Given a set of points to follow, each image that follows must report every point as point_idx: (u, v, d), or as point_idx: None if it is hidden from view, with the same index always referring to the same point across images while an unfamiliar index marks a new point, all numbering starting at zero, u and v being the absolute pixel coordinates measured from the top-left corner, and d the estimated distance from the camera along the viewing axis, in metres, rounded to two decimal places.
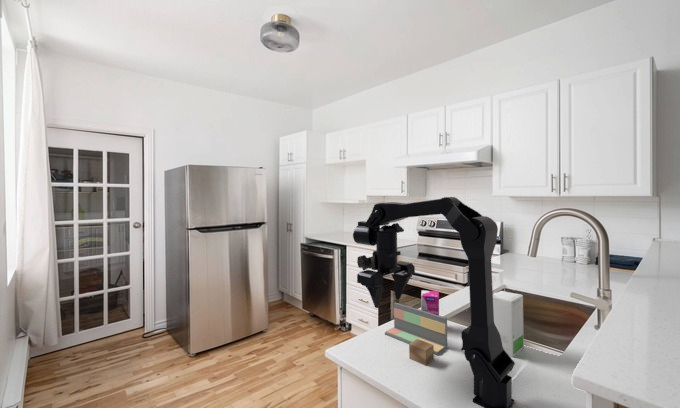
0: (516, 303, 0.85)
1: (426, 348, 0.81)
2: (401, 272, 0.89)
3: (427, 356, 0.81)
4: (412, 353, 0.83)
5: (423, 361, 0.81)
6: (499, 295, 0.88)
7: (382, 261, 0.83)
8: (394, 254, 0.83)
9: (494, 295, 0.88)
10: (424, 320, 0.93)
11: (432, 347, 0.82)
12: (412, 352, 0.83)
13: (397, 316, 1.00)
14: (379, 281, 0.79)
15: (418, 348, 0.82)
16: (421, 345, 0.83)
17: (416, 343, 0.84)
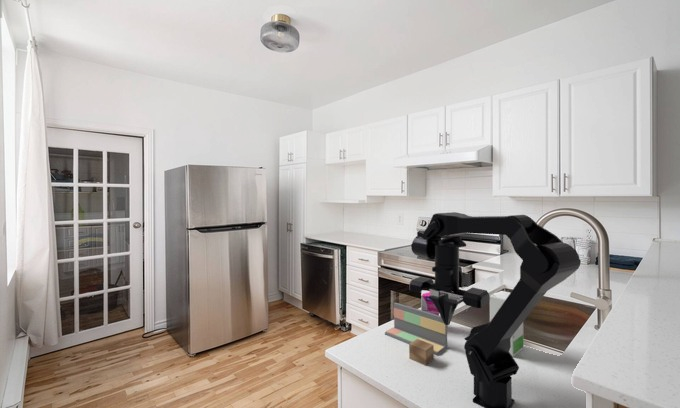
0: None
1: (426, 348, 0.81)
2: (448, 295, 0.76)
3: (427, 356, 0.81)
4: (412, 353, 0.83)
5: (423, 361, 0.81)
6: (499, 295, 0.88)
7: None
8: (439, 270, 0.75)
9: (494, 295, 0.88)
10: (424, 320, 0.93)
11: (432, 347, 0.82)
12: (412, 352, 0.83)
13: (397, 316, 1.00)
14: (416, 289, 0.80)
15: (418, 348, 0.82)
16: (421, 345, 0.83)
17: (416, 343, 0.84)
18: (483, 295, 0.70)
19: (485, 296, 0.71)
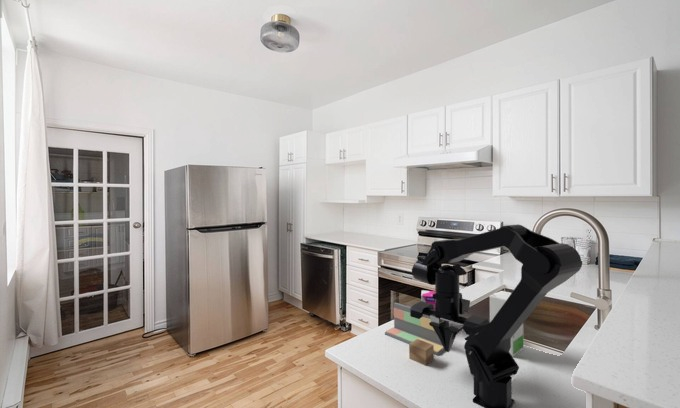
0: None
1: (426, 348, 0.81)
2: (449, 322, 0.76)
3: (427, 356, 0.81)
4: (412, 353, 0.83)
5: (423, 361, 0.81)
6: (499, 295, 0.88)
7: None
8: (439, 298, 0.76)
9: (494, 295, 0.88)
10: (424, 320, 0.93)
11: (432, 347, 0.82)
12: (412, 352, 0.83)
13: (397, 316, 1.00)
14: (416, 314, 0.80)
15: (418, 348, 0.82)
16: (421, 345, 0.83)
17: (416, 343, 0.84)
18: None
19: None
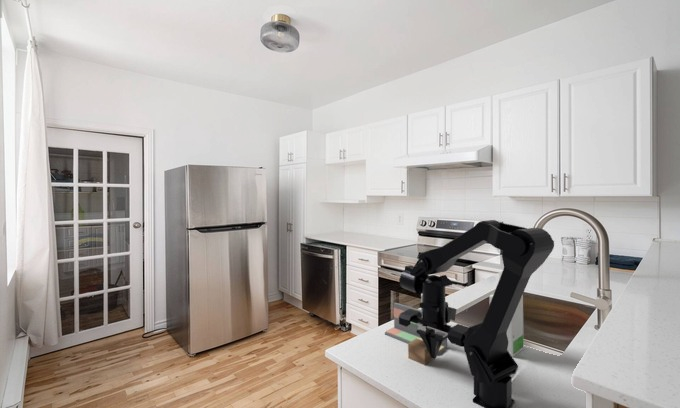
0: None
1: (425, 348, 0.81)
2: (435, 330, 0.79)
3: (426, 356, 0.81)
4: (411, 353, 0.83)
5: (422, 361, 0.81)
6: None
7: None
8: (426, 307, 0.79)
9: None
10: None
11: None
12: (411, 352, 0.83)
13: (397, 316, 1.00)
14: (404, 322, 0.83)
15: (417, 348, 0.82)
16: (420, 344, 0.83)
17: (415, 343, 0.84)
18: (467, 333, 0.73)
19: None
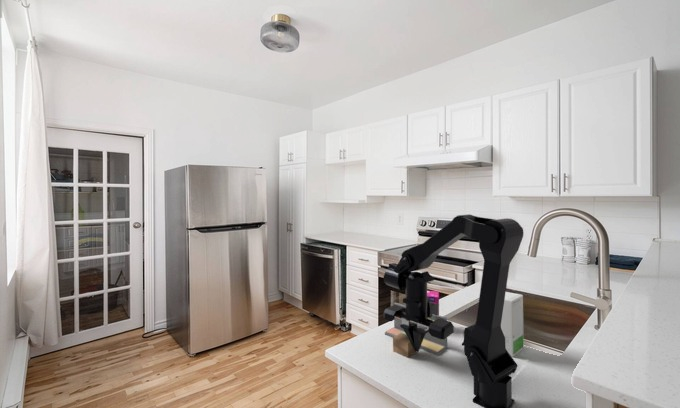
0: (516, 303, 0.85)
1: (408, 341, 0.85)
2: (417, 325, 0.83)
3: (409, 349, 0.85)
4: (396, 346, 0.87)
5: (405, 353, 0.85)
6: None
7: None
8: (408, 302, 0.82)
9: None
10: None
11: None
12: (395, 345, 0.87)
13: None
14: (389, 317, 0.87)
15: (401, 341, 0.86)
16: (404, 338, 0.87)
17: (399, 336, 0.88)
18: (447, 327, 0.77)
19: (449, 328, 0.77)
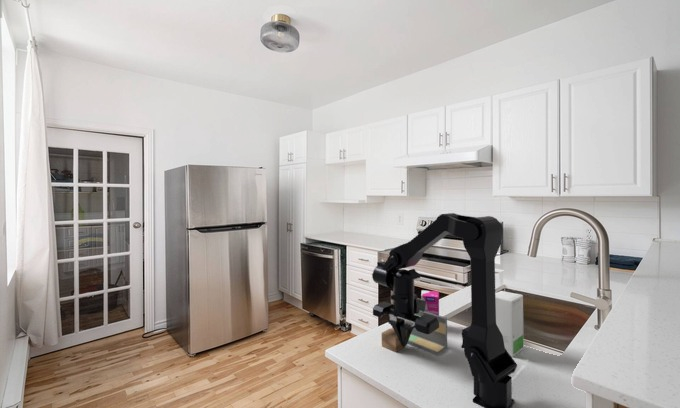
0: (516, 303, 0.85)
1: (396, 336, 0.88)
2: (404, 320, 0.86)
3: (397, 344, 0.88)
4: (384, 341, 0.90)
5: (393, 348, 0.88)
6: (499, 295, 0.88)
7: None
8: (396, 299, 0.85)
9: None
10: None
11: None
12: (384, 340, 0.90)
13: None
14: (377, 313, 0.90)
15: (389, 336, 0.89)
16: (392, 333, 0.90)
17: (388, 332, 0.91)
18: (432, 322, 0.80)
19: (434, 323, 0.80)
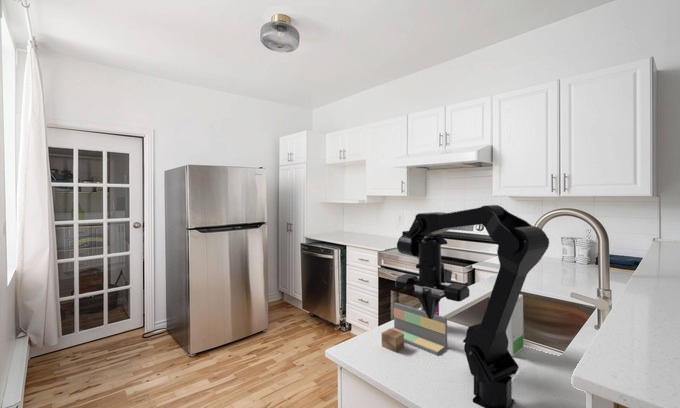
0: (516, 303, 0.85)
1: (396, 336, 0.88)
2: (431, 290, 0.81)
3: (397, 344, 0.88)
4: (384, 341, 0.90)
5: (393, 348, 0.88)
6: None
7: None
8: (422, 267, 0.80)
9: None
10: (424, 320, 0.93)
11: (402, 335, 0.89)
12: (384, 340, 0.90)
13: (397, 316, 1.00)
14: (401, 285, 0.85)
15: (389, 336, 0.89)
16: (392, 333, 0.90)
17: (388, 332, 0.91)
18: (463, 289, 0.75)
19: (465, 290, 0.75)
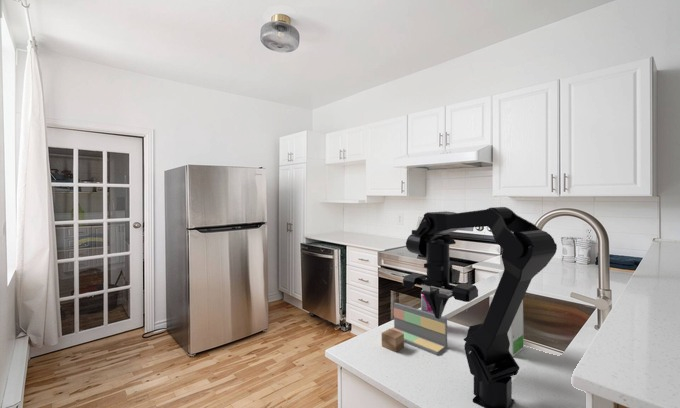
0: None
1: (396, 336, 0.88)
2: (439, 290, 0.80)
3: (397, 344, 0.88)
4: (384, 341, 0.90)
5: (393, 348, 0.88)
6: None
7: None
8: (430, 267, 0.79)
9: None
10: (424, 320, 0.93)
11: (402, 335, 0.89)
12: (384, 340, 0.90)
13: (397, 316, 1.00)
14: (408, 284, 0.84)
15: (389, 336, 0.89)
16: (392, 333, 0.90)
17: (388, 332, 0.91)
18: (471, 290, 0.74)
19: (473, 291, 0.74)
